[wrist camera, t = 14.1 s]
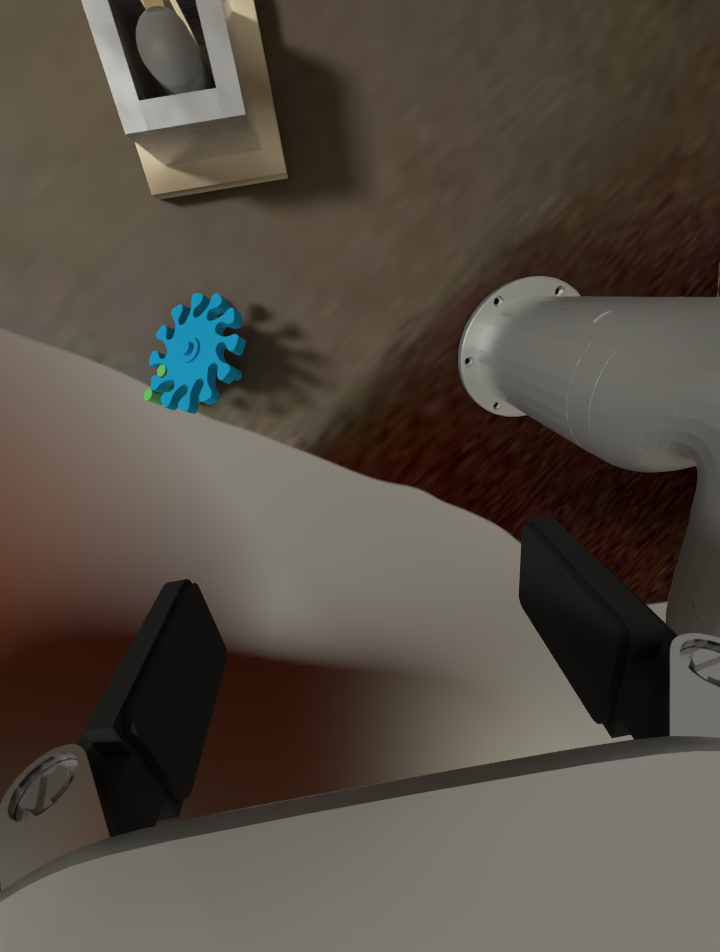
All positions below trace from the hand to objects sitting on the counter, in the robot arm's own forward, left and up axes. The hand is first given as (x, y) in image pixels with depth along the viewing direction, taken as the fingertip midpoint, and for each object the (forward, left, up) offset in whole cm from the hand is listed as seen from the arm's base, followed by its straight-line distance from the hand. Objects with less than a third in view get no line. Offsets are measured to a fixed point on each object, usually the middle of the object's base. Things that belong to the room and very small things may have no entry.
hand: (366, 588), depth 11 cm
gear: (+11, -5, -29) cm, 31 cm away
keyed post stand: (+6, -21, -28) cm, 36 cm away
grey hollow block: (+6, -21, -27) cm, 35 cm away
